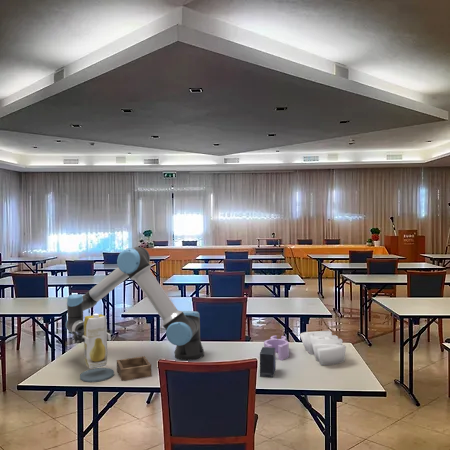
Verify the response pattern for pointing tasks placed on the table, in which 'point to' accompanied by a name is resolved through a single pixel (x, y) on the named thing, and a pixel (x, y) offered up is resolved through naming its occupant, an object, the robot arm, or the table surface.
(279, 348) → the lilac desk organizer
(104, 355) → the juice carton
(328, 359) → the white wavy slab sculpture
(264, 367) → the small box
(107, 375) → the rubber coaster
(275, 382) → the table surface
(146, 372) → the walnut collar
